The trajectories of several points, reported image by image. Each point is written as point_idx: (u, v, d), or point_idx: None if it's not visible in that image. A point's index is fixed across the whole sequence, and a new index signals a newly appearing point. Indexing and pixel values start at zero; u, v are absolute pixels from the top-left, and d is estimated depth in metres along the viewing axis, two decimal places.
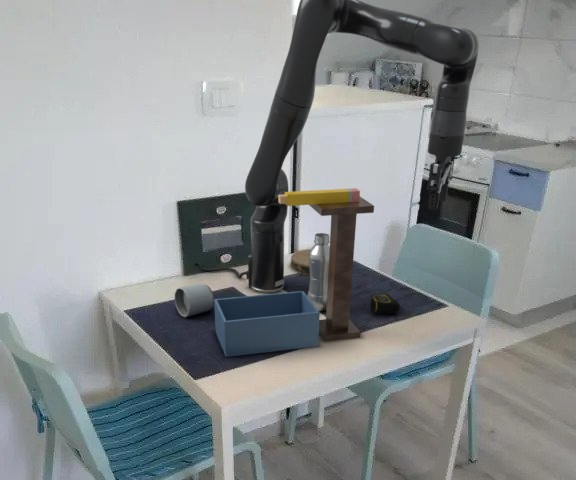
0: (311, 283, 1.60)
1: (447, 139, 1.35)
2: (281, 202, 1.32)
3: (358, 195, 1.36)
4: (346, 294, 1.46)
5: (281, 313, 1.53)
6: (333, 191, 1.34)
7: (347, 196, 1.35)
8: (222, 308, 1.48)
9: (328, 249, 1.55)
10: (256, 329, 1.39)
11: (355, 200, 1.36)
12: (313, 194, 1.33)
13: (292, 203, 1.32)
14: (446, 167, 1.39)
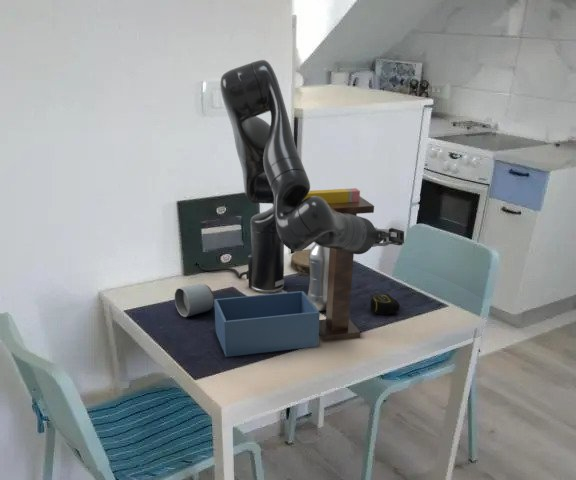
0: (311, 283, 1.60)
1: None
2: None
3: (358, 195, 1.36)
4: (346, 294, 1.46)
5: (281, 313, 1.53)
6: (333, 191, 1.34)
7: (347, 196, 1.35)
8: (222, 308, 1.48)
9: (328, 249, 1.55)
10: (256, 329, 1.39)
11: (355, 200, 1.36)
12: (313, 194, 1.33)
13: None
14: None
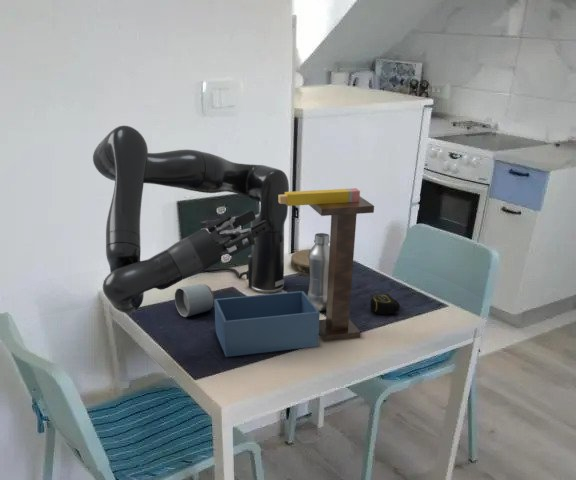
0: (311, 283, 1.60)
1: None
2: (281, 202, 1.32)
3: (358, 195, 1.36)
4: (346, 294, 1.46)
5: (281, 313, 1.53)
6: (333, 191, 1.34)
7: (347, 196, 1.35)
8: (222, 308, 1.48)
9: (328, 249, 1.55)
10: (256, 329, 1.39)
11: (355, 200, 1.36)
12: (313, 194, 1.33)
13: (292, 203, 1.32)
14: None
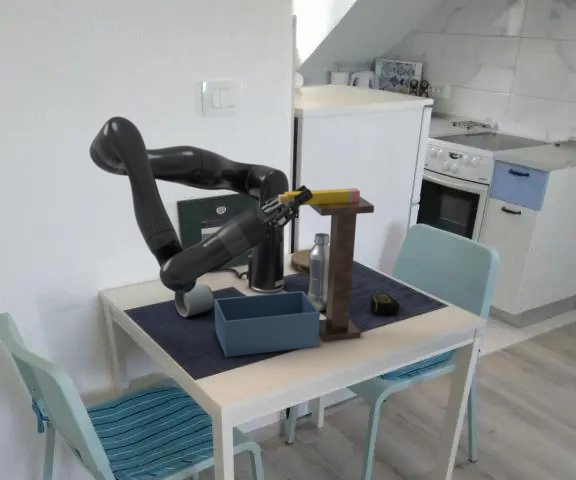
0: (311, 283, 1.60)
1: None
2: None
3: (358, 195, 1.35)
4: (346, 294, 1.46)
5: (281, 313, 1.53)
6: (333, 191, 1.34)
7: (347, 196, 1.35)
8: (222, 308, 1.48)
9: (328, 249, 1.55)
10: (256, 329, 1.39)
11: (355, 200, 1.36)
12: (313, 194, 1.33)
13: None
14: None
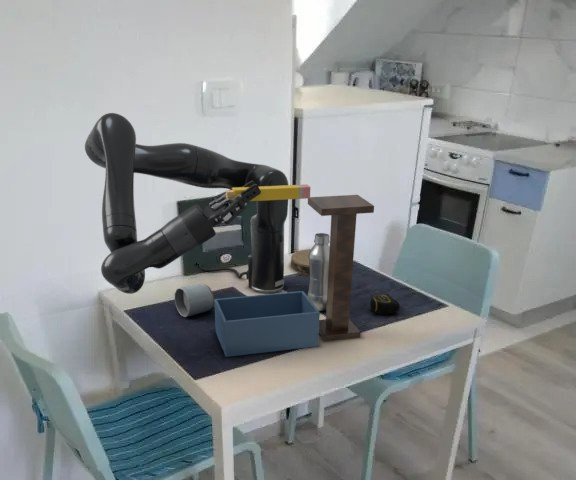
0: (311, 283, 1.60)
1: None
2: None
3: (309, 191, 1.32)
4: (346, 294, 1.46)
5: (281, 313, 1.53)
6: (282, 187, 1.31)
7: (297, 192, 1.31)
8: (222, 308, 1.48)
9: (328, 249, 1.55)
10: (256, 329, 1.39)
11: (306, 196, 1.32)
12: (261, 190, 1.29)
13: None
14: None
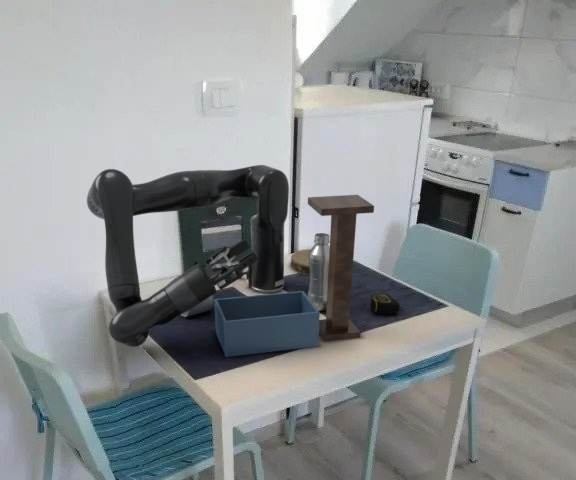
0: (311, 283, 1.60)
1: None
2: None
3: None
4: (346, 294, 1.46)
5: (281, 313, 1.53)
6: None
7: None
8: (222, 308, 1.48)
9: (328, 249, 1.55)
10: (256, 329, 1.39)
11: None
12: None
13: None
14: None
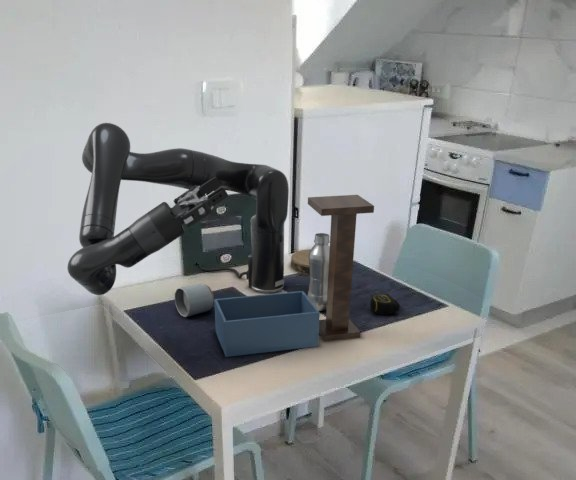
0: (311, 283, 1.60)
1: None
2: None
3: None
4: (346, 294, 1.46)
5: (281, 313, 1.53)
6: None
7: None
8: (222, 308, 1.48)
9: (328, 249, 1.55)
10: (256, 329, 1.39)
11: None
12: None
13: None
14: None
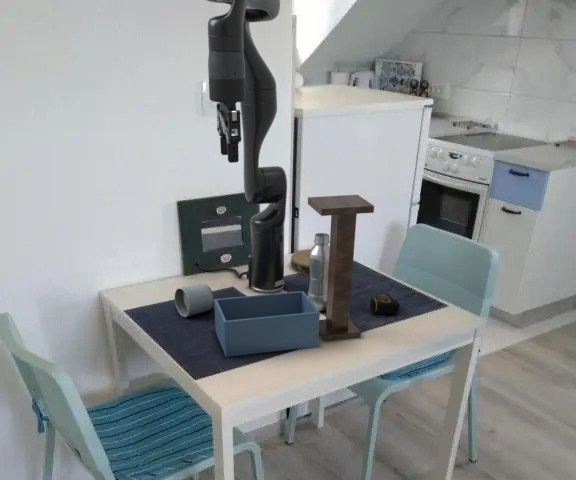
0: (311, 283, 1.60)
1: None
2: None
3: None
4: (346, 294, 1.46)
5: (281, 313, 1.53)
6: None
7: None
8: (222, 308, 1.48)
9: (328, 249, 1.55)
10: (256, 329, 1.39)
11: None
12: None
13: None
14: None
